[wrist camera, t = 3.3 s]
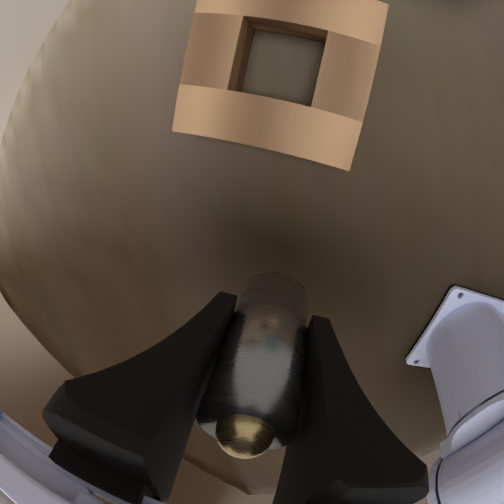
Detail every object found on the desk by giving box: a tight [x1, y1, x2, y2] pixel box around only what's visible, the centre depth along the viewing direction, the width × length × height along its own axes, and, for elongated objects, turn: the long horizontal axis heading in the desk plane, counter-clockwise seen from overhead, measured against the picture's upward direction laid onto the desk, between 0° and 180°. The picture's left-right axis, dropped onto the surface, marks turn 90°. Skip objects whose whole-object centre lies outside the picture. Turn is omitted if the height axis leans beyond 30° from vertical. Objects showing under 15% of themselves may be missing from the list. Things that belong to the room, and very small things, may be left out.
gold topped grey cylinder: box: [196, 272, 308, 459], centre depth 9 cm, size 3×3×7 cm
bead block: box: [172, 0, 389, 171], centre depth 13 cm, size 9×9×3 cm
